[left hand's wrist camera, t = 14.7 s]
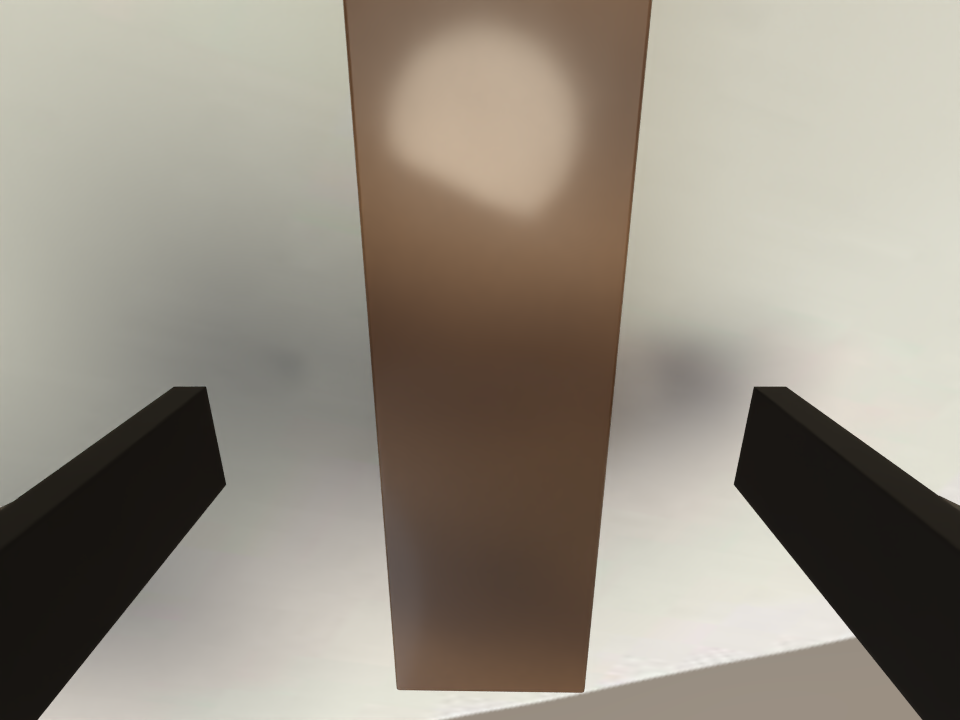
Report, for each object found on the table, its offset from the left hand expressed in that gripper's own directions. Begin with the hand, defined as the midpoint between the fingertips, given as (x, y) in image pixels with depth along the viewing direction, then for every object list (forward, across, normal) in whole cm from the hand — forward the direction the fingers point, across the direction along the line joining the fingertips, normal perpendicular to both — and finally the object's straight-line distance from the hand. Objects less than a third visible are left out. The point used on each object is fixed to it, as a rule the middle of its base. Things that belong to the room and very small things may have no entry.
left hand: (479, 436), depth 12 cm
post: (+7, 0, -27) cm, 28 cm away
